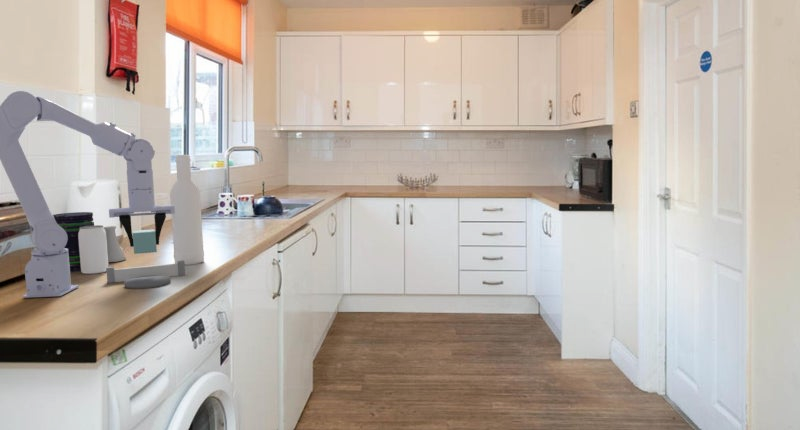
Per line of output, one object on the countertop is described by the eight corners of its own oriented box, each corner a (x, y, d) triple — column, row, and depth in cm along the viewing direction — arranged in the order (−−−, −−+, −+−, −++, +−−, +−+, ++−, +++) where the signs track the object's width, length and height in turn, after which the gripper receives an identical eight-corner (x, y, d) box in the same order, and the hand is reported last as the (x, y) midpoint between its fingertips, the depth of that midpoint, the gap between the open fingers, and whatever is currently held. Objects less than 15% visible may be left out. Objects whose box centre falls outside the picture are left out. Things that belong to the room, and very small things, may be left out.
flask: (117, 258, 180) (115, 224, 179) (131, 260, 176) (128, 226, 175) (93, 262, 174) (90, 227, 173) (106, 264, 170) (104, 229, 169)
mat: (163, 287, 137) (163, 283, 137) (117, 289, 137) (117, 285, 136) (175, 278, 147) (175, 274, 147) (133, 280, 146) (132, 276, 146)
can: (78, 275, 155) (74, 228, 153) (84, 270, 161) (80, 226, 160) (106, 273, 156) (102, 227, 155) (110, 268, 163) (107, 224, 161)
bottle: (168, 264, 167) (160, 155, 164) (188, 259, 174) (181, 154, 171) (190, 265, 164) (183, 154, 161) (210, 260, 171) (204, 154, 168)
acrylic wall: (184, 274, 152) (184, 260, 152) (185, 275, 151) (184, 261, 151) (107, 281, 146) (106, 267, 145) (107, 283, 144) (106, 268, 144)
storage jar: (74, 265, 170) (70, 212, 168) (105, 265, 168) (101, 212, 166) (47, 272, 160) (42, 216, 159) (79, 272, 158) (75, 216, 157)
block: (155, 249, 150) (154, 229, 150) (156, 252, 146) (155, 231, 145) (133, 251, 148) (132, 230, 148) (134, 253, 144) (132, 233, 143)
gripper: (171, 187, 152) (175, 240, 153) (108, 189, 146) (112, 245, 148) (173, 188, 146) (177, 244, 147) (107, 191, 140) (111, 249, 141)
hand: (144, 245), depth 147 cm, fingers closed on block, 5 cm apart
